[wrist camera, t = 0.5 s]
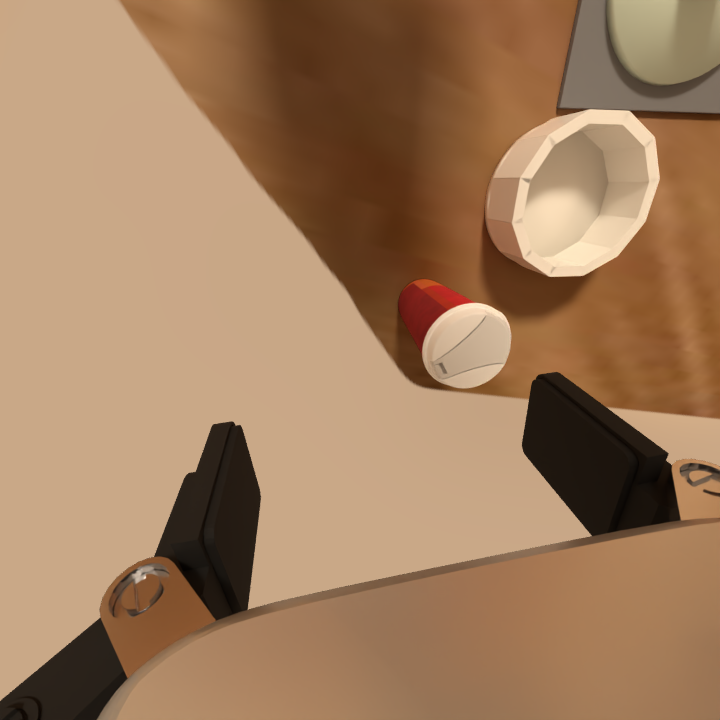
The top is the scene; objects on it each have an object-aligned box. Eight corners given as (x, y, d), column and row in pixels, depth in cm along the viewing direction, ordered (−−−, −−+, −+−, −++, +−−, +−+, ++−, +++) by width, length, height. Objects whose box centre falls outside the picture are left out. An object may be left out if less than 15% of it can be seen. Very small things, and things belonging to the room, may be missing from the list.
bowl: (496, 118, 35) (532, 107, 29) (626, 122, 36) (681, 112, 31) (475, 265, 41) (501, 278, 36) (586, 262, 43) (627, 274, 37)
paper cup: (405, 344, 44) (447, 408, 32) (377, 290, 40) (412, 339, 28) (462, 312, 43) (529, 365, 31) (439, 255, 40) (503, 289, 27)
